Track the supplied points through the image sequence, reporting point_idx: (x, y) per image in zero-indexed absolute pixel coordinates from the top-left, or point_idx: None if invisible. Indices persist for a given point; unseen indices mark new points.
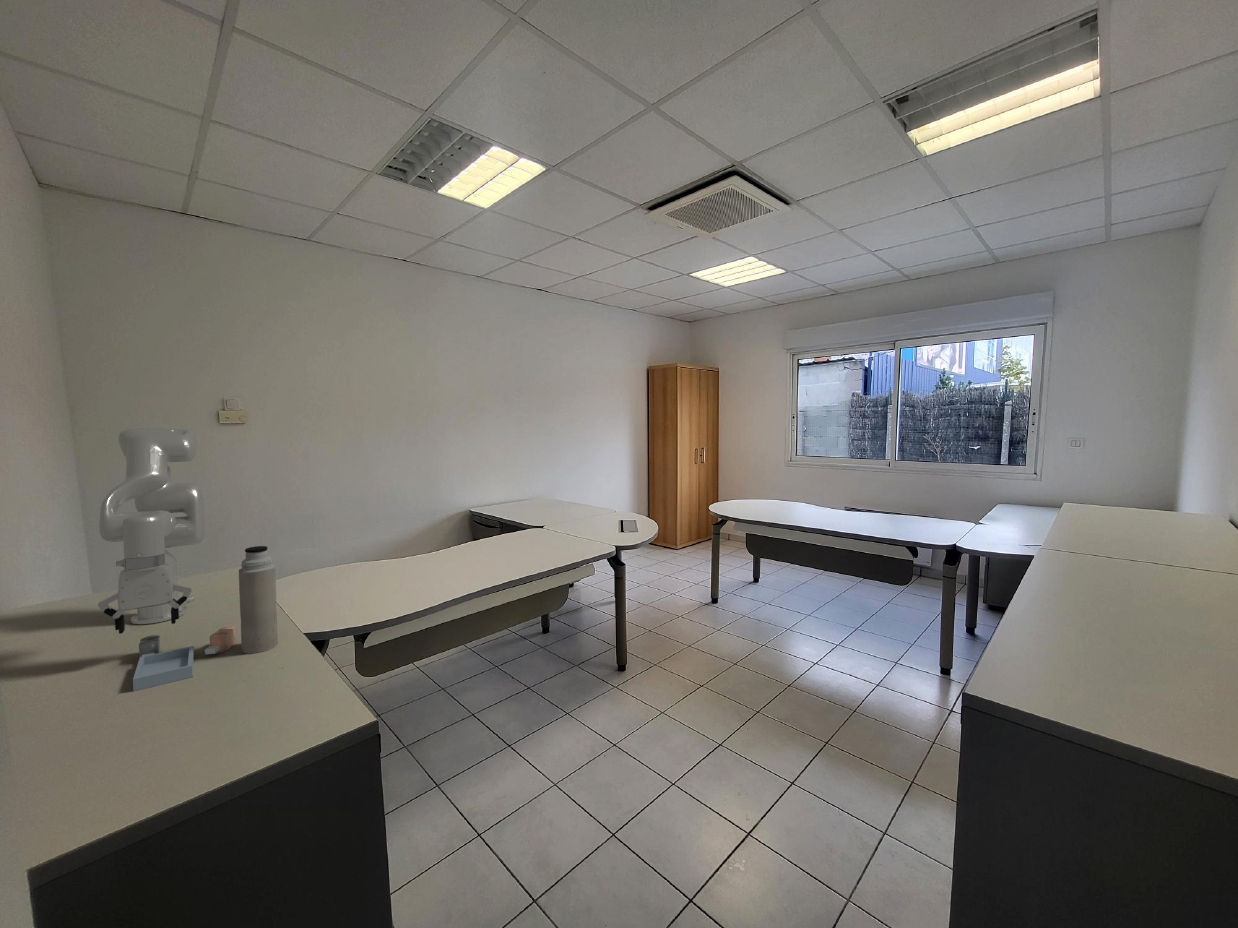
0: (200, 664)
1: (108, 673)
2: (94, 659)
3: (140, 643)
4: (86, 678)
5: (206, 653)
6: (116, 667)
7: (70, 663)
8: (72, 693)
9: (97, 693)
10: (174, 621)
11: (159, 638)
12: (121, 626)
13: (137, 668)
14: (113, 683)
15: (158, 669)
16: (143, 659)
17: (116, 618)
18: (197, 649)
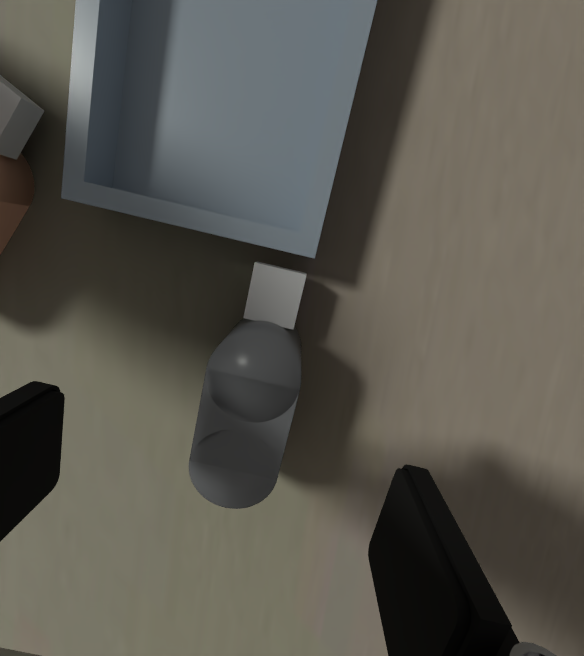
0: None
1: (420, 305)
2: None
3: (288, 409)
4: (493, 320)
5: (34, 104)
6: (382, 358)
7: (486, 559)
8: (579, 159)
9: (515, 44)
10: (26, 388)
11: (195, 438)
12: (431, 510)
13: (363, 33)
14: (436, 133)
15: (262, 89)
16: (309, 190)
17: (526, 643)
18: (82, 297)
